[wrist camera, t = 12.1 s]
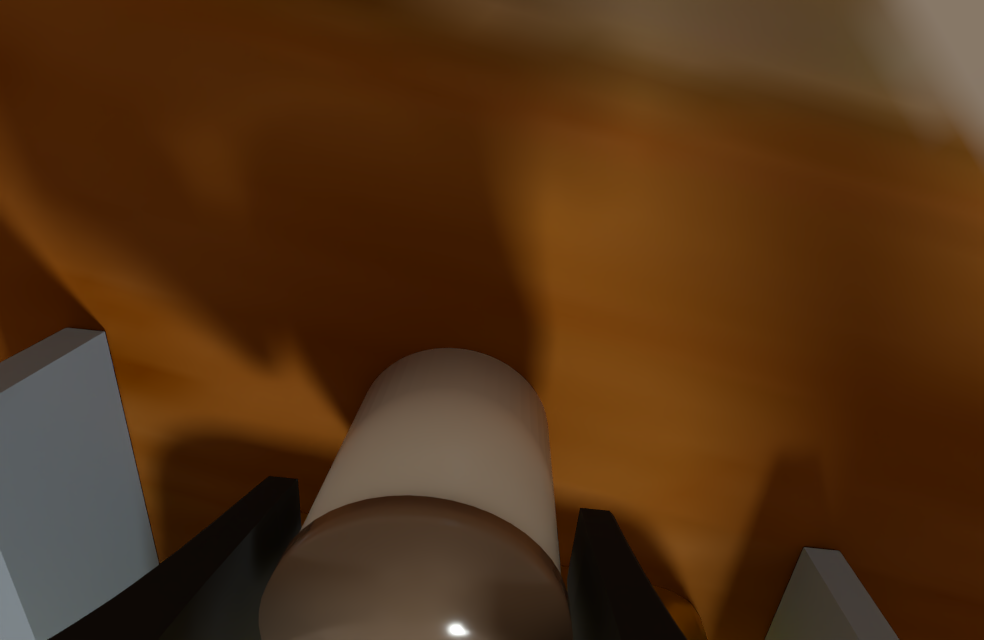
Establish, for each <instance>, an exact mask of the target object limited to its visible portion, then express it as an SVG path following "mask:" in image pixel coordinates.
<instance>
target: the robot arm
mask: <svg viewBox="0 0 984 640" xmlns="http://www.w3.org/2000/svg"><path fill="white" fill-rule="evenodd" d="M301 528H302V525H301V513H300V501H299V489H298V479H292V478H282V477H272V476H269V477H268V478H266V479H265V480H264V481H263V482H261V483H260V484H259V485H258V486H256V487H255V488H254V489H253V490H251V491H250V492H249V493H248V494H247V495H245V496H244V497H243V498H242V499H241V500H239V501H238V502H237V503H236V504H235V505H233V506H232V507H231V508H230V509H229V510H227V511H226V512H225V513H224V514H223V515H221V516H220V517H219V518H218V519H217V520H215V521H214V522H213V523H212V524H210V525H209V526H208V527H207V528H205V529H204V530H203V531H202V532H200V533H199V534H198V535H197V536H195V537H194V538H193V539H192V540H190V541H189V542H188V543H187V544H185V545H184V546H183V547H182V548H180V549H179V550H178V551H176V552H175V553H174V554H173V555H171V556H170V557H169V558H167V559H166V560H165V561H163V562H162V563H161V564H159V565H158V566H156V567H155V568H154V569H152V570H151V571H150V572H148V573H147V574H146V575H144V576H143V577H142V578H140V579H139V580H137V581H136V582H135V583H133V584H132V585H131V586H129V587H128V588H126V589H125V590H124V591H122V592H121V593H119V594H118V595H116V596H115V597H113V598H112V599H111V600H109V601H108V602H106V603H105V604H103V605H102V606H100V607H99V608H97V609H95V610H94V611H92V612H91V613H89V614H88V615H86V616H84V617H83V618H81V619H80V620H78V621H77V622H75V623H74V624H72V625H70V626H69V627H67V628H66V629H64V630H62V631H61V632H59V633H58V634H56V635H54V636H53V637H51V638H49V639H47V640H261V635H260V630H259V608H260V603H261V598H262V595H263V593H264V591H265V588H266V586H267V584H268V582H269V580H270V578H271V576H272V574H273V572H274V570H275V568H276V566H277V564H278V562H279V560H280V558H281V556H282V554H283V552H284V551H285V549H286V548H287V546H288V545H289V543H290V542H291V540H292V539H293V538H294V537H295V536H296V535H297V534H298V533H299V532H300V530H301ZM567 593H568V597H569V602H570V612H571V622H572V632H573V640H687V638H686V637H685V635H684V634H683V633H682V631H681V630H680V628H679V627H678V625H677V624H676V622H675V621H674V619H673V618H672V616H671V615H670V613H669V612H668V610H667V609H666V607H665V605H664V604H663V602H662V601H661V599H660V597H659V596H658V594H657V592H656V591H655V589H654V588H653V586H652V584H651V583H650V581H649V580H648V578H647V576H646V575H645V573H644V571H643V569H642V568H641V566H640V564H639V562H638V561H637V559H636V557H635V555H634V554H633V552H632V550H631V548H630V546H629V545H628V543H627V541H626V539H625V537H624V535H623V533H622V531H621V529H620V527H619V525H618V524H617V522H616V519H615V517H614V516H613V514H612V513H611V512H610V511H605V510H595V509H586V508H580V512H579V517H578V522H577V528H576V533H575V538H574V544H573V549H572V554H571V559H570V565H569V570H568V575H567Z"/></svg>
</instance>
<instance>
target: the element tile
mask: <svg viewBox="0 0 984 640" xmlns="http://www.w3.org/2000/svg"><path fill="white" fill-rule="evenodd" d="M300 513H301V525H302V526H303V524H304V522H305V520H306V518H307V516H308V514H307V513H302V512H300ZM560 567H561V576H562V578H563V581H564V583H565V585H566V588H567V575H568V570H569V567H564V566H560ZM652 586H653V588H654V589H655V591H656V592H657V594H658V596H659V597H660V599H661V601H662V602H663V604H664V605H665V607H666V609H667V610H668V612H669V613H670V615H671V616H672V618H673V619H674V621H675V622H676V624H677V625H678V627H679V628H680V630H681V631H682V633H683V634H684V635H685V637H686V638H687V640H708V639H707V636H706V633H705V630H704V627H703V624H702V621H701V618H700V616H699V614H698V613H697V611H696V610H695V609H694V607H693V606H692V604H691V603H690V602H689V601H687V600H686V599H684V598H682V597H681V596H679V595H677V594H676V593H674V592H672V591H670V590H667V589H664V588H661V587H658V586H655V585H652Z"/></svg>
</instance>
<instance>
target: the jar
mask: <svg viewBox="0 0 984 640" xmlns="http://www.w3.org/2000/svg"><path fill="white" fill-rule="evenodd" d="M259 630H260V635H261V640H573V632H572V622H571V612H570V602H569V597H568V593H567V588H566V585H565V583H564V581H563V578H562V576H561V567H560V556H559V545H558V533H557V522H556V511H555V500H554V488H553V477H552V466H551V455H550V443H549V432H548V422H547V418H546V413H545V410H544V407H543V405H542V402H541V400H540V399H539V397H538V395H537V393H536V392H535V390H534V389H533V388H532V386H531V385H530V384H529V383H528V382H527V381H526V380H525V379H524V378H523V377H522V376H521V375H520V374H519V373H518V372H517V371H515V370H514V369H513V368H511V367H510V366H508V365H507V364H505V363H503V362H502V361H500V360H498V359H496V358H493V357H491V356H489V355H486V354H483V353H480V352H476V351H472V350H466V349H459V348H436V349H430V350H424V351H420V352H417V353H414V354H411V355H409V356H406V357H404V358H402V359H400V360H398V361H397V362H395V363H393V364H392V365H390V366H389V367H388V368H387V369H385V370H384V371H383V372H382V373H381V374H380V375H379V376H378V377H377V378H376V380H375V381H374V382H373V384H372V385H371V387H370V388H369V390H368V392H367V394H366V396H365V398H364V400H363V402H362V404H361V406H360V408H359V410H358V412H357V414H356V417H355V419H354V421H353V423H352V425H351V427H350V429H349V431H348V433H347V435H346V437H345V439H344V441H343V443H342V445H341V448H340V450H339V452H338V454H337V456H336V458H335V460H334V462H333V464H332V466H331V468H330V470H329V472H328V474H327V476H326V479H325V481H324V483H323V485H322V487H321V489H320V491H319V493H318V495H317V497H316V499H315V501H314V503H313V505H312V507H311V509H310V512H309V514H308V516H307V518H306V520H305V522H304V524H303V526H302V528H301V530H300V532H299V533H298V534H297V535H296V536H295V537H294V538H293V539H292V540H291V542H290V543H289V545H288V546H287V548H286V549H285V551H284V552H283V554H282V556H281V558H280V560H279V562H278V564H277V566H276V568H275V570H274V572H273V574H272V576H271V578H270V580H269V582H268V584H267V586H266V588H265V591H264V593H263V595H262V598H261V603H260V608H259Z"/></svg>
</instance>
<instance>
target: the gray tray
mask: <svg viewBox="0 0 984 640" xmlns="http://www.w3.org/2000/svg"><path fill="white" fill-rule="evenodd" d="M158 565H159V562H158V558H157V553H156V549H155V545H154V540H153V536H152V532H151V528H150V523H149V519H148V515H147V510H146V506H145V502H144V497H143V493H142V489H141V485H140V480H139V476H138V472H137V467H136V463H135V459H134V455H133V450H132V446H131V442H130V437H129V433H128V429H127V424H126V420H125V416H124V412H123V407H122V403H121V399H120V394H119V390H118V386H117V382H116V377H115V373H114V369H113V364H112V360H111V356H110V351H109V347H108V343H107V339H106V334H105V331H95V330H85V329H75V328H64V329H63V330H61V331H59V332H57V333H55V334H53V335H51V336H49V337H47V338H46V339H44V340H42V341H40V342H38V343H36V344H34V345H32V346H31V347H29V348H27V349H25V350H23V351H21V352H19V353H17V354H15V355H14V356H12V357H10V358H8V359H6V360H4V361H2V362H0V640H47V639H49V638H51V637H53V636H54V635H56V634H58V633H59V632H61V631H62V630H64V629H66V628H67V627H69V626H70V625H72V624H74V623H75V622H77V621H78V620H80V619H81V618H83V617H84V616H86V615H88V614H89V613H91V612H92V611H94V610H95V609H97V608H99V607H100V606H102V605H103V604H105V603H106V602H108V601H109V600H111V599H112V598H113V597H115V596H116V595H118V594H119V593H121V592H122V591H124V590H125V589H126V588H128V587H129V586H131V585H132V584H133V583H135V582H136V581H137V580H139V579H140V578H142V577H143V576H144V575H146V574H147V573H148V572H150V571H151V570H152V569H154V568H155V567H156V566H158ZM765 640H899V638H898V637H897V635H896V634H895V632H894V631H893V629H892V628H891V626H890V625H889V623H888V622H887V620H886V619H885V617H884V616H883V614H882V613H881V612H880V610H879V609H878V607H877V606H876V604H875V603H874V601H873V600H872V598H871V597H870V595H869V594H868V592H867V591H866V589H865V588H864V586H863V585H862V583H861V582H860V580H859V579H858V577H857V576H856V574H855V573H854V571H853V570H852V568H851V567H850V566H849V564H848V563H847V561H846V560H845V558H844V557H843V555H842V554H841V552H840V551H837V550H827V549H817V548H807V547H804V548H803V550H802V552H801V555H800V557H799V560H798V562H797V564H796V567H795V569H794V571H793V574H792V576H791V578H790V581H789V583H788V586H787V588H786V590H785V593H784V595H783V597H782V600H781V602H780V605H779V607H778V609H777V612H776V614H775V616H774V619H773V621H772V624H771V626H770V628H769V631H768V633H767V635H766V638H765Z"/></svg>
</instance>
